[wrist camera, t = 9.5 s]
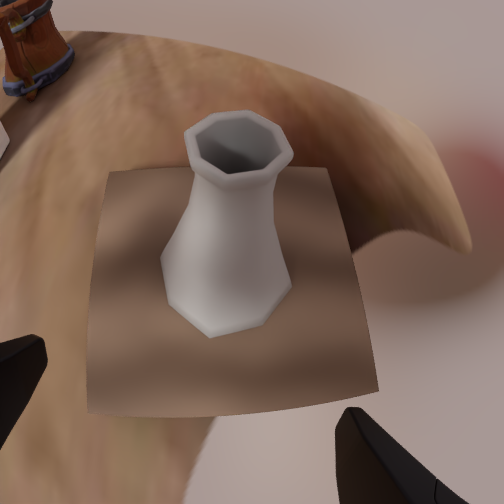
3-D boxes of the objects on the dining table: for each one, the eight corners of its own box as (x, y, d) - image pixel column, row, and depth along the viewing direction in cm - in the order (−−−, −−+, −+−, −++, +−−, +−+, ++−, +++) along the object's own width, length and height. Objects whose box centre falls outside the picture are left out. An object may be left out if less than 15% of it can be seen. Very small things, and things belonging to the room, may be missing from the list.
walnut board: (363, 393, 17) (378, 391, 15) (100, 412, 15) (87, 413, 13) (319, 184, 24) (326, 167, 23) (115, 189, 22) (109, 171, 20)
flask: (140, 255, 18) (91, 121, 9) (242, 202, 20) (264, 65, 11) (204, 362, 15) (189, 304, 6) (312, 292, 18) (397, 181, 9)
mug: (71, 104, 27) (43, -16, 14) (-13, 140, 24) (-58, 38, 10) (78, 46, 34) (66, -35, 21) (13, 72, 31) (-8, -4, 17)
